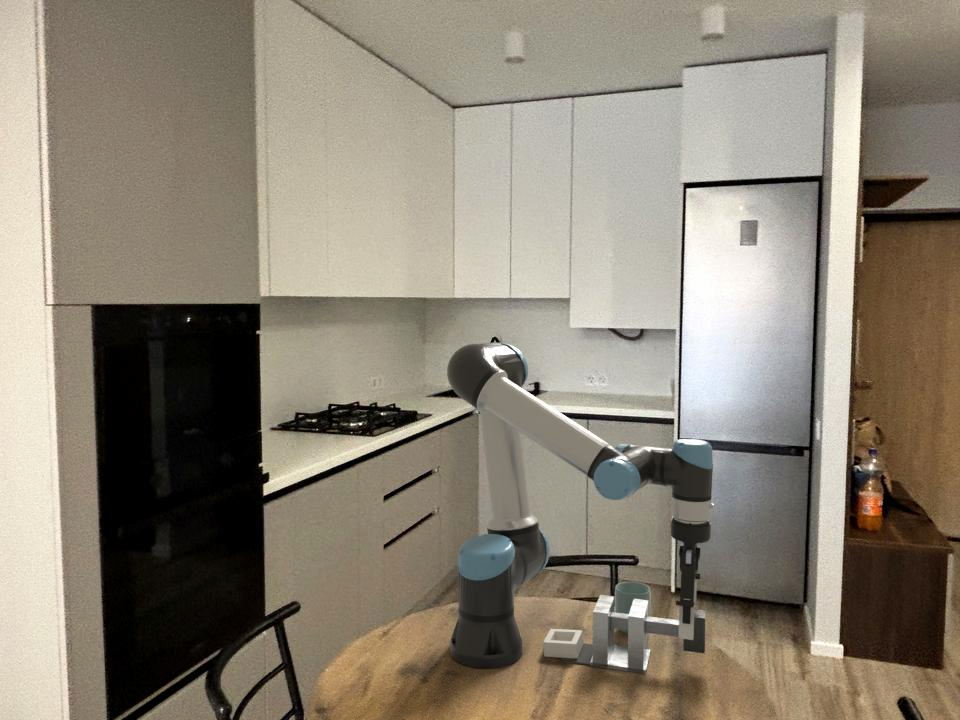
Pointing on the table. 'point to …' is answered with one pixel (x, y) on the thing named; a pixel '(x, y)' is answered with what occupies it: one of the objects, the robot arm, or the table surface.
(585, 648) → the mat
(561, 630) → the block
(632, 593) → the cup
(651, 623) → the shaft
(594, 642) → the bearing block
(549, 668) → the table surface
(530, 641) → the table surface
